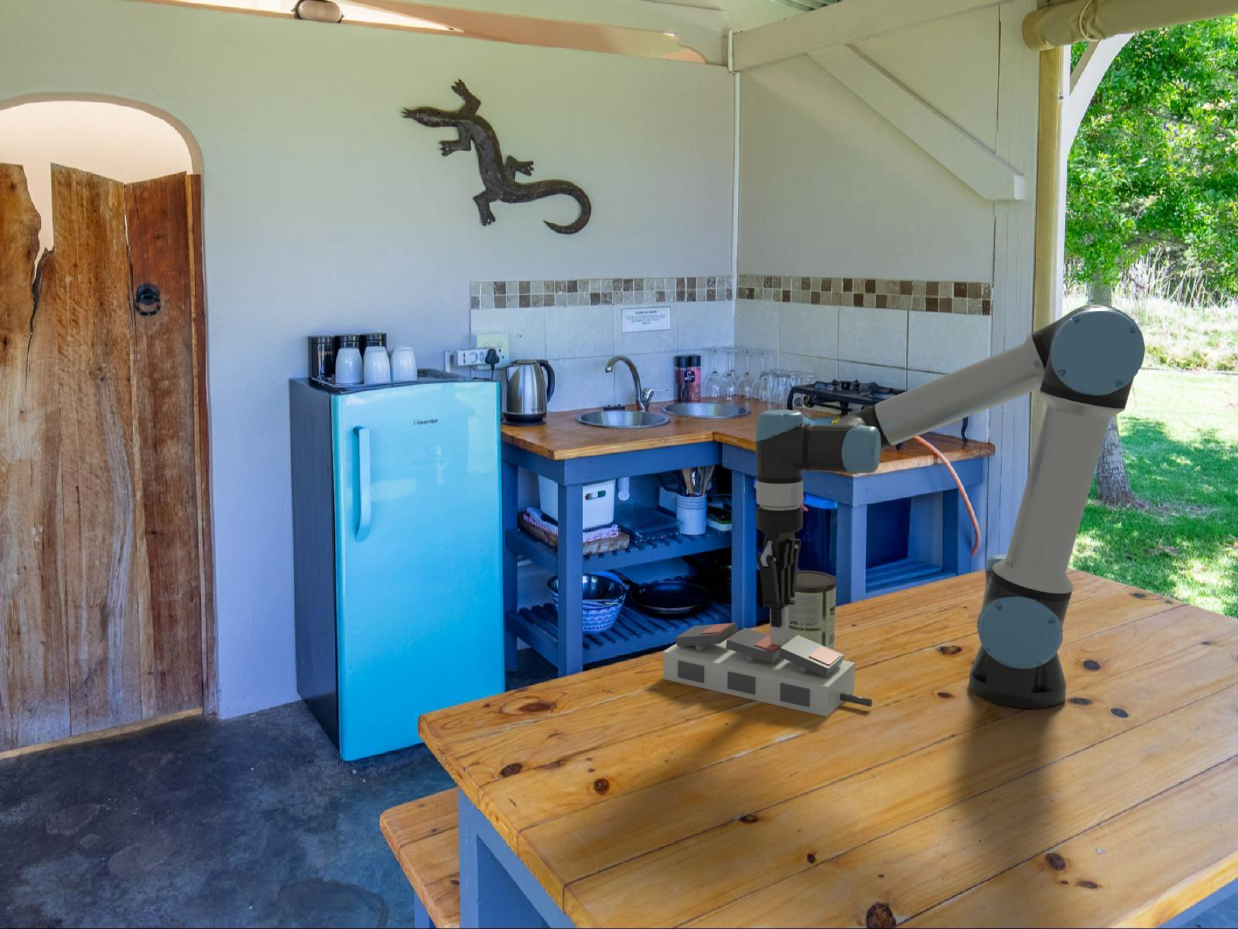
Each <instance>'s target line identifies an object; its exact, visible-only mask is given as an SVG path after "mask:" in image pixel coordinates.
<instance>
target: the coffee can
mask: <svg viewBox="0 0 1238 929" xmlns="http://www.w3.org/2000/svg"><path fill="white" fill-rule="evenodd" d="M837 583H838V579H837V578H836V577H835V576H834V575H832V574H829V573H827V572H822V571H816V570H797V578H796V588H795V596H794V598H791V600H794V601H795V604H794V605H788V606H789V641H790V640H791V639H793V638H794V637H796V636H797V635H799V636H801V637H804V638H806V639H808V640H811V641H813V642H815V643H818V644H820V645H822V646H825V647H827V648H829V649H832V650H834V651H836V650H835V643H836V642H835V638H836V635H835V634H836V632H835V631H836V602H837V600H836V597H837V596H836V594H837V593H836V592H837Z"/></svg>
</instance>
